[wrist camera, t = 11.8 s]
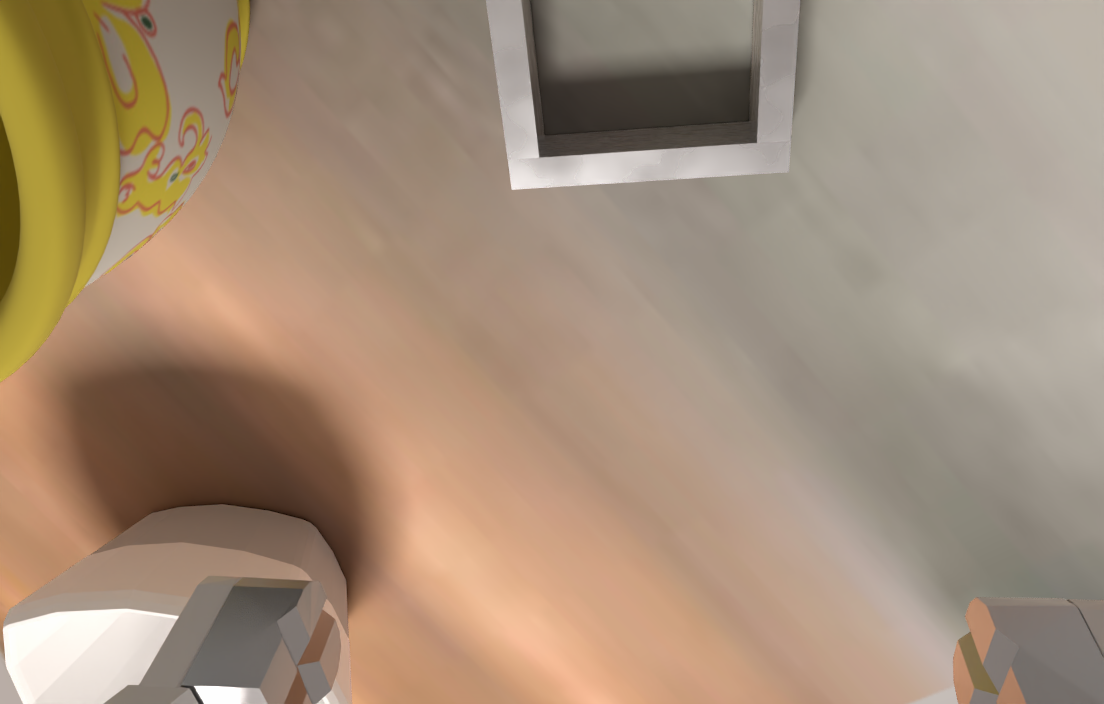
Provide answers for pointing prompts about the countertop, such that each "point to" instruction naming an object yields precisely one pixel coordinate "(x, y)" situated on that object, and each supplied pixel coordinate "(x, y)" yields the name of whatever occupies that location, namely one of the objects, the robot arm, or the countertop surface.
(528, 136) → the socket collar
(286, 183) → the countertop surface
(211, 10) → the flowerpot
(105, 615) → the bowl
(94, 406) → the countertop surface
